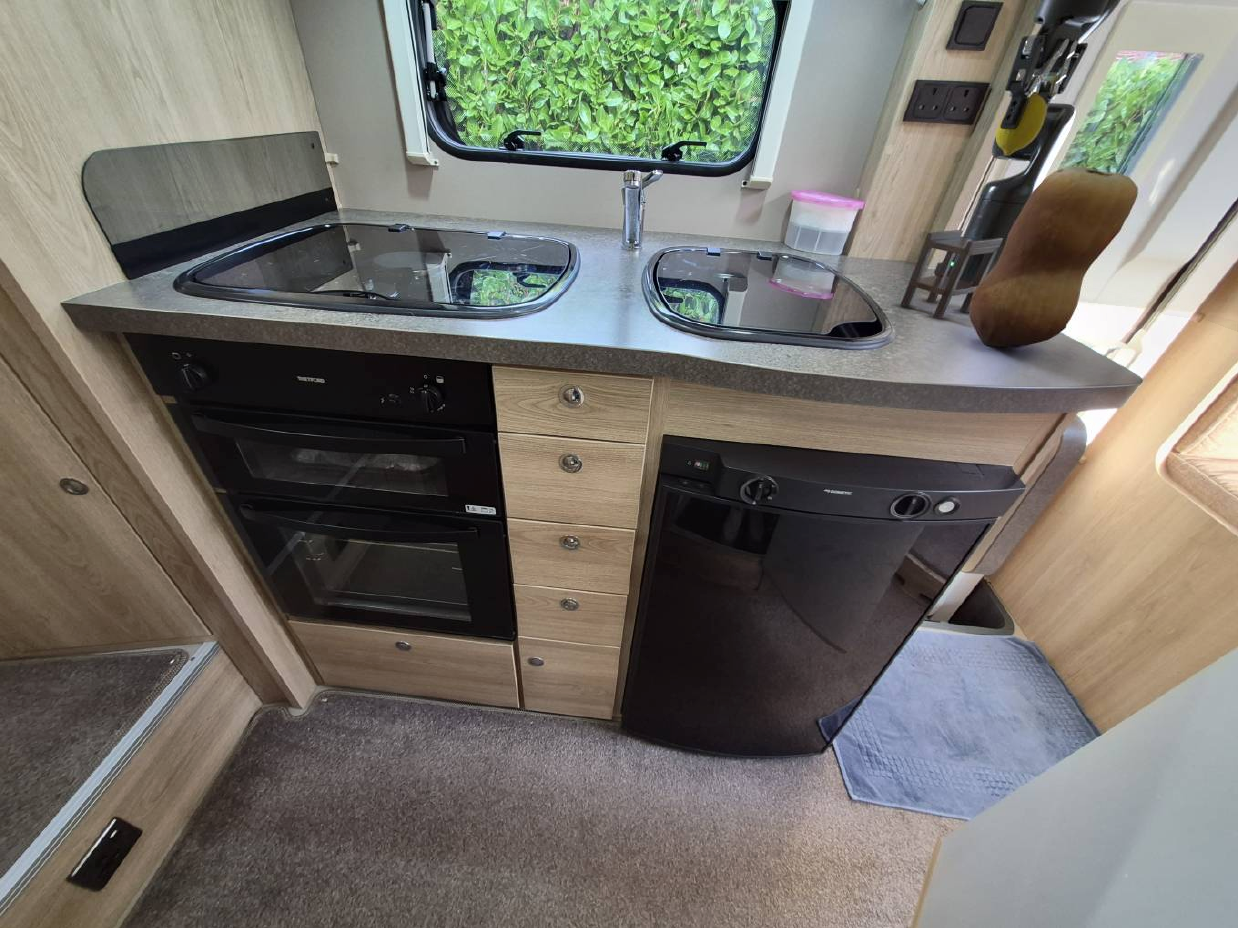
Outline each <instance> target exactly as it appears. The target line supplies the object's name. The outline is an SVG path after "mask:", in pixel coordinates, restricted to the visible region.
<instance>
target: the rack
mask: <svg viewBox="0 0 1238 928" xmlns="http://www.w3.org/2000/svg"><path fill="white" fill-rule="evenodd" d="M963 232H964V230H962V229H955V230H943V231H932V232H927V233H926V237H925V239H924V242H923V244H922V247H921V250H920V253H919V255H918V258H917V261H916V263H915V266H914V269H913V271H912V274H911V277H910V279H909V281H908V284H907V287H906V289H905V292H904V295H903V297H902V299H901V303H900V305H899V306H900V307H902V308H905V309H906V308H910V305H911V303H912V301H913V298H914V295H915V293H916V290H917V289H920V290H923V291H926V292H929V294H928V296H927V298H926V302H928V303H936V301H937V300H938V297H939V296H941V297H940V299H939V302H938V304H937V306H936V308H935V311H934V314H933V316H932V318H935V319H937V320H940V319H943V318H944V316H945V313H946V311H947V309H948V306H949V304H950V302H951V299H952V297H955V296H962V295H965V298H964V300H963V302H962V304H961V307H960V308H959V312H960V313H964V314H967V313H969V311H970V305H971V300H970V299H971V298H972V296H973V293H974V291H975V290H976V288H977V287H978V285H979V284H980V283H981V281H982V280H983V279H984V278H985V276H986V274H987V272H988V270H989V268H990V266H991V264H992V261H993V259H994V257H995V255H996V253H997V251H998V249H999V246H1000V244H1001V242H1002V240H1003V238H992V239H984V240H975V241H974V240H970V239H965V238H960V237H962V236H963ZM933 249H935V250H940V251H943V252H945V254H944V257H943V259H942V261H941V262H942V265H941V267H940V270H939V272H938V274H937V276H935V275H932V276H926V277H922V275H923V273H924V270H925V267H926V265H927V262H928V260H929V257H930V255H931V253H932V250H933ZM983 253H986V254H985V256H984V258H983V261H982V263H981V265H980V267H979V269H978V272H977V274H976V276H975V278H974V280H973V283H969V282H965V281H961V280H959V279H960V277H961V275H962V272H963V270H964V268H965V265H966V263H967V261H968V259H969V256H970V255H976V254H983ZM955 254H960V255H959V257H958V259H957V262H956V264H955V266H954V269H953V271H952V273H951V276H950V277H946V276H947V273H948V271H949V268H950V266H951V264H952V261H953V259H954V257H955Z"/></svg>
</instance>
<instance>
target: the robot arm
mask: <svg viewBox="0 0 1238 928" xmlns="http://www.w3.org/2000/svg"><path fill="white" fill-rule="evenodd" d="M1121 1H1122V0H1040V2H1039V4H1038V6H1037V9H1036V11H1035V14H1034V17H1033V22H1034V24H1038V25H1040V28H1039V29H1038V30H1037V32H1036V34H1034V35H1033V34H1032V35H1025V36H1022V38H1021V40H1020V42H1019V44H1018V48H1017V50H1016V54H1015V57H1014V60H1013V63H1012V65H1011V69H1010V70H1011V71H1010V73H1009V76H1008V78H1007V82H1006V85H1005V91H1006V92H1009V97H1011V99H1010V100H1009V103H1008V106H1007V108H1006V111H1005V112H1006V113H1005V112H1004V114H1005V115H1004V114H1003V115H1004V118H1003V120H1002V122H1001V125H1000V128H1001V129H1016V128H1017V127H1018V126H1019V123H1020V121H1021V119H1022V116H1023V114H1024V112H1025V109H1026V107H1027V105H1028V102H1029V100H1030V98H1027V97H1030V96H1031V94H1032V93H1033V92H1034V91H1035V92H1037V93H1038V95H1039V96H1041V97H1042V98H1043V99H1044V100H1045V102H1046V106H1047V111H1046V116H1045V120H1044V123H1043V125H1042V127H1041V129H1040V131H1039V133H1038V134H1037V136H1036V137H1035V138H1034V140H1033V141H1032V142H1031V143H1029V144H1028V145H1027V146H1025V147H1024V148H1022V149H1019V150H1017V151H1015V152H1013V153H1012V154H1011V155H1008V156H1006V155H1005V154H1004V151H1003V150H1002V149H1001V148H1000V147H999V146H998V144H997V142H996V136H995V137H994V140H993V143H992V146H991V147H992V148H991V156H992V157H993V158H994V159H997V160H1002V161H1003V160H1004V161H1012V162H1013V161H1015V162H1024V163H1025V162H1026V163H1028V165H1027V166H1026V168H1024V169H1023V170H1022V171H1020V172H1019V173H1018V172H1017V173H1016V174H1014V175H1011V176H1008V177H1005V178H1001V179H996V180H991V181H988V182H986V183H985V184H984V186H983V188H982V189H981V192H980V194H979V198H978V199H977V202H976V204H975V207H974V209H973V211H972V214H971V216H970V218H969V221H968V223H967V225H966V228H965V230H964V231H963V232H964V233H963V234H962V236H961V237H960V238H965V239H970V240H974V241H975V240H984V239H992V238H1003V240H1002V242H1001V244H1000V246H999V249H998V251H997V253H996V255H995V257H994V259H993V261H992V264H991V266H990V268H989V270H988V272H987V274H986V276H987V275H988V273H989V272H990V271H991V270H992V269H993V268H994V266H995V265H996V263H997V261H998V259H999V257H1000V256H1001V254H1002V251H1003V249H1004V246H1005V243H1006V240H1007V237H1008V233H1009V232H1010V230H1011V228H1012V226H1013V224H1014V222H1015V221H1016V219H1017V218H1018V216H1019V214H1020V212H1021V211H1022V209H1023V207H1024V205H1025V204H1026V202H1027V201H1028V199H1029V198H1030V196H1031V195H1032V193H1033V192H1034V190H1035V189H1036V188H1037V187H1038V185H1039V184H1040V183H1041V182H1042V181H1043V180H1044V179H1045V178H1046V176H1047V173H1048V171H1049V170H1050V167H1051V166H1052V163H1053V161H1054V160H1055V158H1056V156H1057V155H1058V152H1059V150H1060V149H1061V147H1062V145H1063V143H1064V141H1065V140H1066V138H1067V136H1068V133H1069V132H1070V130H1071V127H1072V125H1073V122H1074V120H1075V116H1076V107H1075V105H1074V104H1072V103H1061V102H1058V103H1057V102H1051V101H1052V100H1054V99H1055V98H1056V97H1057V95H1063V93H1064V92H1065V91H1066V88H1067V87H1068V85H1069V83H1070V81H1071V79H1072V77H1073V76H1074V73H1075V72H1076V70H1077V68H1078V66H1079V64H1080V62H1081V60H1082V58H1083V56H1084V55H1085V53H1086V51H1087V49H1088V46H1089V44H1088V42H1085V41H1086V40H1087V39H1088V38H1089V37H1090V36H1091V35H1092V34H1093V33H1094V32H1095V31H1097V29H1098V28H1100V26H1101V25H1102V24H1103V23H1104V22H1106V20H1107V19H1108V18H1109V17H1110V16H1111V15H1112V13H1114V11H1115V10H1116V8H1117V7H1118V6H1119V4H1120V2H1121ZM985 254H986V253H983V254H976V255H970V256H969V259H968V261H967V263H966V265H965V268H964V270H963V272H962V275H961V277H960V279H959V280H961V281H965V282H969V283H973V280H974V278H975V276H976V274H977V272H978V269H979V267H980V265H981V263H982V261H983V258H984V256H985ZM959 255H960V254H955V257H954V259H953V261H952V264H951V266H950V268H949V271H948V273H947V276H946V277H950V276H951V273H952V271H953V269H954V266H955V264H956V262H957V259H958V257H959ZM942 262H943V261H941V262H937V263H936V266H935V269H934V271H933V274H934V276H937V274H938V272H939V270H940V267H941V265H942ZM986 276H985V277H986Z"/></svg>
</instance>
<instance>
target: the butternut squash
mask: <svg viewBox="0 0 1238 928" xmlns="http://www.w3.org/2000/svg"><path fill="white" fill-rule="evenodd" d="M1138 194H1139V188H1138V186H1137V184H1136V182H1135V181H1134V180H1133V179H1132V178H1131V177H1129V176H1128V175H1124V174H1122V173H1119V172H1112V171H1111V172H1110V171H1109V172H1108V171H1107V172H1106V171H1100V170H1097V169H1092V168H1089V167H1085V166H1066V167H1065V166H1064V167H1062V168H1059V169H1057V170H1054V171H1053V172H1051V173H1050V174H1049V175H1046V176H1045V177H1044V179H1043V181H1042V182H1041V183H1040V184H1039V185H1038V187H1037V188H1036V189H1035V190H1034V192H1033V193H1032V195H1031V196H1030V198H1029V199H1028V201H1027V202H1026V204H1025V205H1024V207H1023V209H1022V211H1021V212H1020V214H1019V216H1018V218H1017V219H1016V221H1015V222H1014V224H1013V226H1012V228H1011V230H1010V232H1009V233H1008V237H1007V240H1006V243H1005V246H1004V249H1003V251H1002V254H1001V256H1000V257H999V259H998V261H997V263H996V265H995V266H994V268H993V269H992V270H991V271H990V272H989V273H988V275H987V276H986V277H985V278H984V279H983V280H982V281H981V283H980V284H979V285H978V287H977V288H976V290H975V291H974V293H973V296H972V298H971V299H970V300H971V305H970V311H969V312H968V314H969V315H968V316H969V320H970V322H971V324H972V326H973V328H974V330H975V333H976V334H977V335H976V336H978V338H979V339H980V341H981V344H982V345H985V346H990V347H1002V348H1003V347H1004V348H1015V349H1016V348H1020V347H1025V346H1031V345H1036V344H1040V343H1043V342H1046V341H1049V340H1051V339H1053V338H1055V337H1056V336H1058V335H1059V334H1060V333H1062V332H1063V331H1064V330H1065V329H1066V328H1067V325H1068V324H1069V322H1070V321H1071V319H1072V317H1073V316H1074V314H1075V311H1076V310H1077V307H1078V303H1079V300H1080V296H1081V289H1082V285H1083V281H1084V277H1085V275H1086V274H1087V272H1088V271H1089V269H1090V268H1091V266H1092V265H1093V264H1094V263H1095V261H1096V260H1097V259H1098V258H1099V257H1100V255H1101V254H1102V253H1103V252H1104V251H1105V250H1106V248H1107V247H1109V245H1110V244H1111V243H1112V241H1113V240H1114V239H1115V238H1116V237H1117V235H1118V234H1119V233H1120V231H1121V230H1122V228H1123V226H1124V224H1125V222H1126V220H1127V219H1128V218H1129V215H1130V214H1131V211H1132V209H1133V207H1134V205H1135V203H1136V200H1137V198H1138Z"/></svg>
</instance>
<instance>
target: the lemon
mask: <svg viewBox="0 0 1238 928" xmlns="http://www.w3.org/2000/svg"><path fill="white" fill-rule="evenodd" d="M1027 98H1030V100H1029V102H1028V105H1027V107H1026V109H1025V112H1024V114H1023V116H1022V119H1021V121H1020V123H1019V126H1018V127H1017V128H1016V129H1001V128H1000V125H1001V122H1002V120H1003V118H1004V115H1005V113H1006V111H1005V112H1004V114H1003V115H1002V116H1001V119H1000V121H999V123H998V125H997V129H996V132H995V133H996V134H995V137H996V142H997V144H998V146H999V147H1000V148H1001V149H1002V150H1003V151H1004V154H1005V155H1006V156H1008V155H1011V154H1012V153H1013V152H1015V151H1017V150H1019V149H1022V148H1024V147H1025V146H1027V145H1028V144H1029V143H1031V142H1032V141H1033V140H1034V138H1035V137H1036V136H1037V134H1038V133H1039V131H1040V129H1041V127H1042V125H1043V123H1044V120H1045V116H1046V111H1047V106H1046V102H1045V100H1044V99H1043V98H1042V97H1041V96H1039V95H1038V93H1037V92H1035V91H1034V92H1033V93H1032V94H1031V96H1030V97H1027Z"/></svg>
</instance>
